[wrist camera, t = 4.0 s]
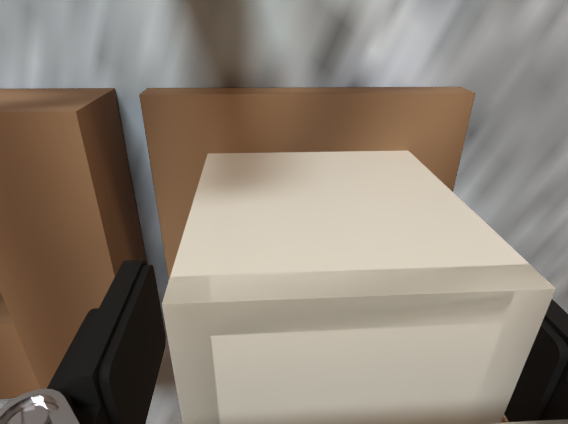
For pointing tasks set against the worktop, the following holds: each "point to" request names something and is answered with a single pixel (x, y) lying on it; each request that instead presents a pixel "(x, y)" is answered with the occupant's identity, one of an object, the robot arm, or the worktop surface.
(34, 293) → the socket tile
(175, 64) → the worktop surface
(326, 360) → the block
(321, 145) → the tile
